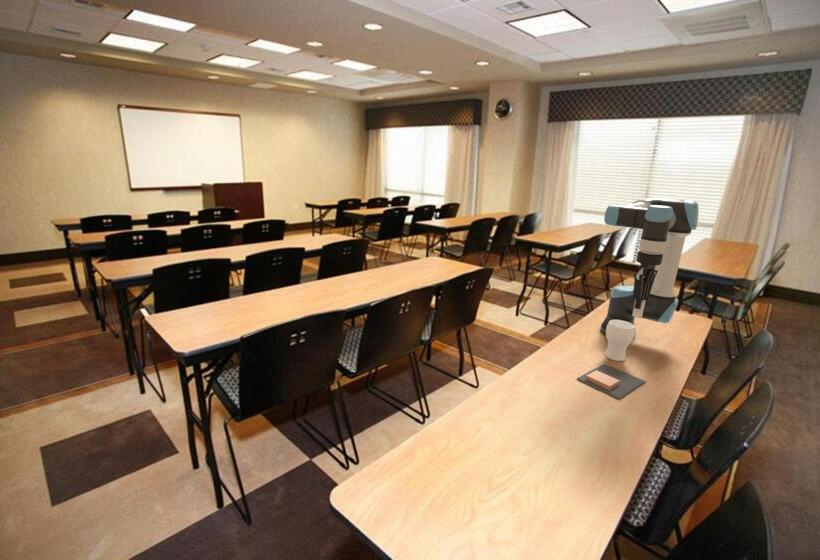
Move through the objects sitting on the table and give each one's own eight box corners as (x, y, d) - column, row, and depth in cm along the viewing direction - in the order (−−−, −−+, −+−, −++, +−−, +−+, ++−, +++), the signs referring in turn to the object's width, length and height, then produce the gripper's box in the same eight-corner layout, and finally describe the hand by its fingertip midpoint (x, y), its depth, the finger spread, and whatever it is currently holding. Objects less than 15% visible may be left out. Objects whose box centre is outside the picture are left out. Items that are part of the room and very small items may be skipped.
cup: (626, 365, 164) (633, 331, 160) (598, 357, 170) (604, 324, 166) (631, 356, 172) (638, 323, 168) (604, 348, 178) (610, 317, 174)
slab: (596, 370, 155) (586, 375, 151) (619, 380, 148) (610, 386, 144) (595, 373, 156) (585, 379, 152) (618, 384, 149) (609, 390, 145)
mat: (604, 364, 164) (604, 363, 164) (645, 382, 152) (645, 381, 152) (576, 379, 152) (577, 378, 152) (619, 399, 140) (619, 398, 140)
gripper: (647, 247, 144) (634, 309, 151) (630, 251, 136) (617, 317, 143) (670, 252, 138) (656, 316, 145) (654, 256, 130) (639, 324, 137)
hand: (636, 316), depth 144 cm, fingers closed
